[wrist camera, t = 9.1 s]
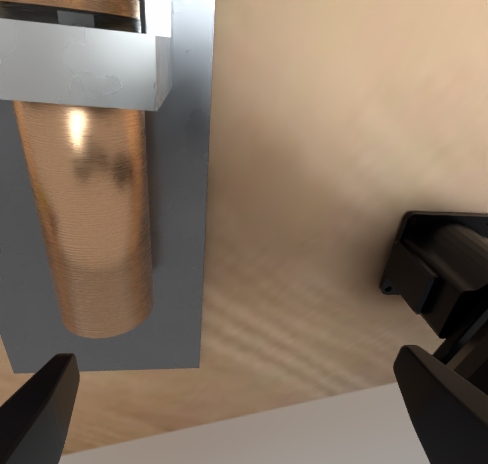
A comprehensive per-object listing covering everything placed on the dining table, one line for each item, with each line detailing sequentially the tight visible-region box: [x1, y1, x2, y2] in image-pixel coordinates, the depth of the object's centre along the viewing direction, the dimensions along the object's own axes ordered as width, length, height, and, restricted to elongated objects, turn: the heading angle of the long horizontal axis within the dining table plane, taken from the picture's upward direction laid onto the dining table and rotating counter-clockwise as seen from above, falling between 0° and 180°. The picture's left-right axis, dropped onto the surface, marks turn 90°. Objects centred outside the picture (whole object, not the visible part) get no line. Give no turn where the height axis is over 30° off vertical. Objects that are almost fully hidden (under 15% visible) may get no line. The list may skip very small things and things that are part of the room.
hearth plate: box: [0, 0, 215, 373], centre depth 19 cm, size 13×27×1 cm, turn 175°
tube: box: [0, 0, 154, 338], centre depth 15 cm, size 17×5×5 cm, turn 175°
